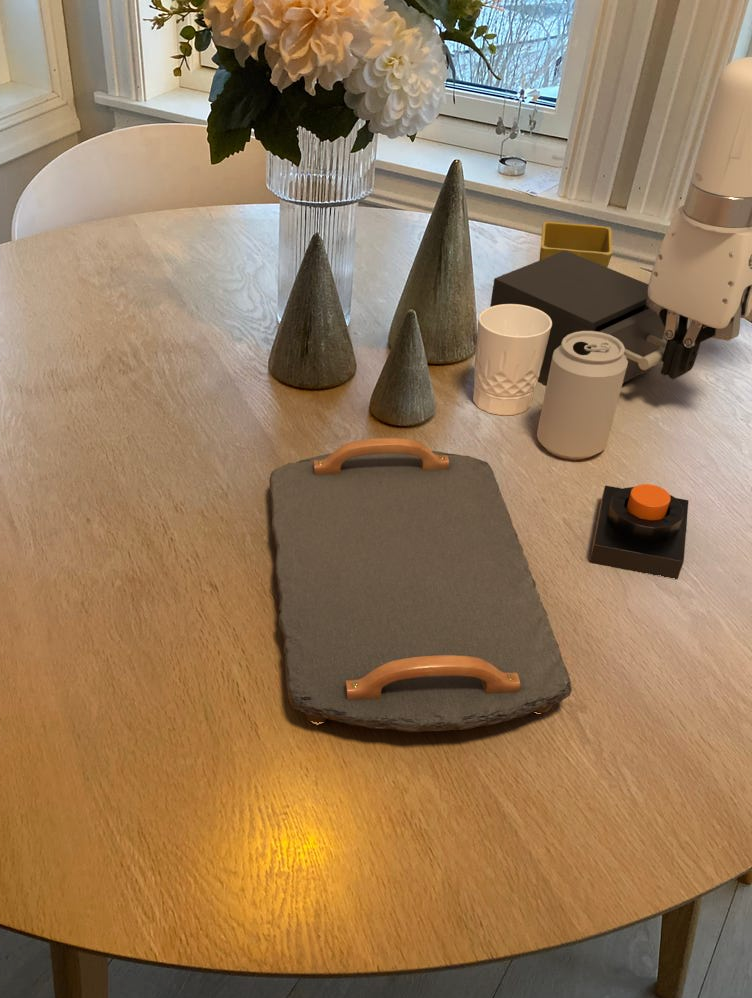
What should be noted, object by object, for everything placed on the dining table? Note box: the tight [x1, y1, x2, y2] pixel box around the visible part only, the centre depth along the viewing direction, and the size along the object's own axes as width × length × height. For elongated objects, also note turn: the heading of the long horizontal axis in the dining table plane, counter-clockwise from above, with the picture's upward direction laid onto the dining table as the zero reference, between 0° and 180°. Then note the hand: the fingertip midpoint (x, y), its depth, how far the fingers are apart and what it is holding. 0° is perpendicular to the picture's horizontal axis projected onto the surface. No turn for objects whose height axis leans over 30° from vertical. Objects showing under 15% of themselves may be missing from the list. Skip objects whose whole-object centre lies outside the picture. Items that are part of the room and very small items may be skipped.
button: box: [627, 483, 671, 520], centre depth 93 cm, size 4×4×2 cm
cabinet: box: [489, 251, 649, 386], centre depth 119 cm, size 15×13×10 cm
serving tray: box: [269, 437, 573, 733], centre depth 89 cm, size 39×23×6 cm, turn 3°
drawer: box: [595, 305, 667, 384], centre depth 116 cm, size 18×11×8 cm, turn 38°
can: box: [536, 331, 628, 461], centre depth 104 cm, size 8×8×12 cm
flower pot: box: [538, 221, 613, 268], centre depth 130 cm, size 9×9×9 cm
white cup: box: [472, 304, 552, 416], centre depth 112 cm, size 8×8×10 cm
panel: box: [589, 485, 689, 580], centre depth 95 cm, size 10×8×4 cm
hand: (674, 372), depth 110 cm, fingers closed
